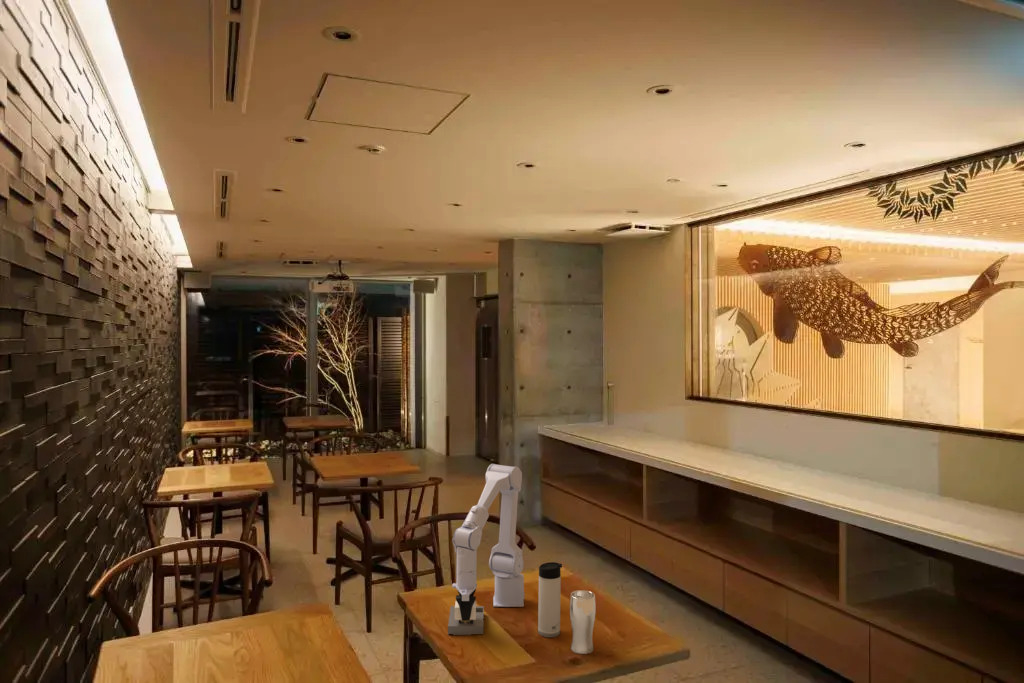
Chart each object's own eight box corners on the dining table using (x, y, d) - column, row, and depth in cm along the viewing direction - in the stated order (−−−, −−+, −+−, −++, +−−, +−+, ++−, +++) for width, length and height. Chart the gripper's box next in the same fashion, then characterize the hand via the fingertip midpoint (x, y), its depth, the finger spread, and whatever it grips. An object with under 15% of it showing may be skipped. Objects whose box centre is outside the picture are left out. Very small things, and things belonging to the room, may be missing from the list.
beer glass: (578, 640, 196) (579, 587, 196) (599, 648, 192) (600, 594, 191) (564, 649, 191) (564, 595, 190) (585, 657, 187) (586, 601, 186)
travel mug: (559, 638, 197) (560, 568, 197) (536, 636, 199) (537, 566, 198) (562, 629, 204) (563, 561, 203) (540, 627, 205) (540, 559, 204)
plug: (482, 619, 205) (483, 600, 205) (482, 626, 200) (482, 607, 200) (455, 619, 205) (455, 600, 205) (454, 626, 200) (454, 607, 200)
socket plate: (483, 614, 213) (483, 606, 213) (483, 634, 200) (483, 626, 199) (450, 614, 213) (450, 606, 213) (447, 635, 199) (447, 626, 199)
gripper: (453, 560, 209) (453, 605, 210) (451, 578, 195) (450, 627, 195) (477, 560, 210) (477, 605, 210) (476, 578, 195) (476, 626, 196)
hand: (466, 616), depth 203 cm, fingers closed on plug, 4 cm apart
